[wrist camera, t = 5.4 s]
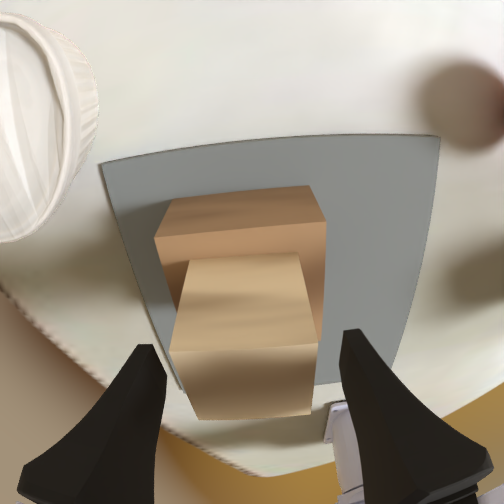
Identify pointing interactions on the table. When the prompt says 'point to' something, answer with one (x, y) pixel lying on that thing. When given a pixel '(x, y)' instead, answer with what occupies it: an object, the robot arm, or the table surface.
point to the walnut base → (246, 234)
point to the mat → (331, 204)
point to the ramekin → (40, 122)
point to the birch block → (246, 338)
